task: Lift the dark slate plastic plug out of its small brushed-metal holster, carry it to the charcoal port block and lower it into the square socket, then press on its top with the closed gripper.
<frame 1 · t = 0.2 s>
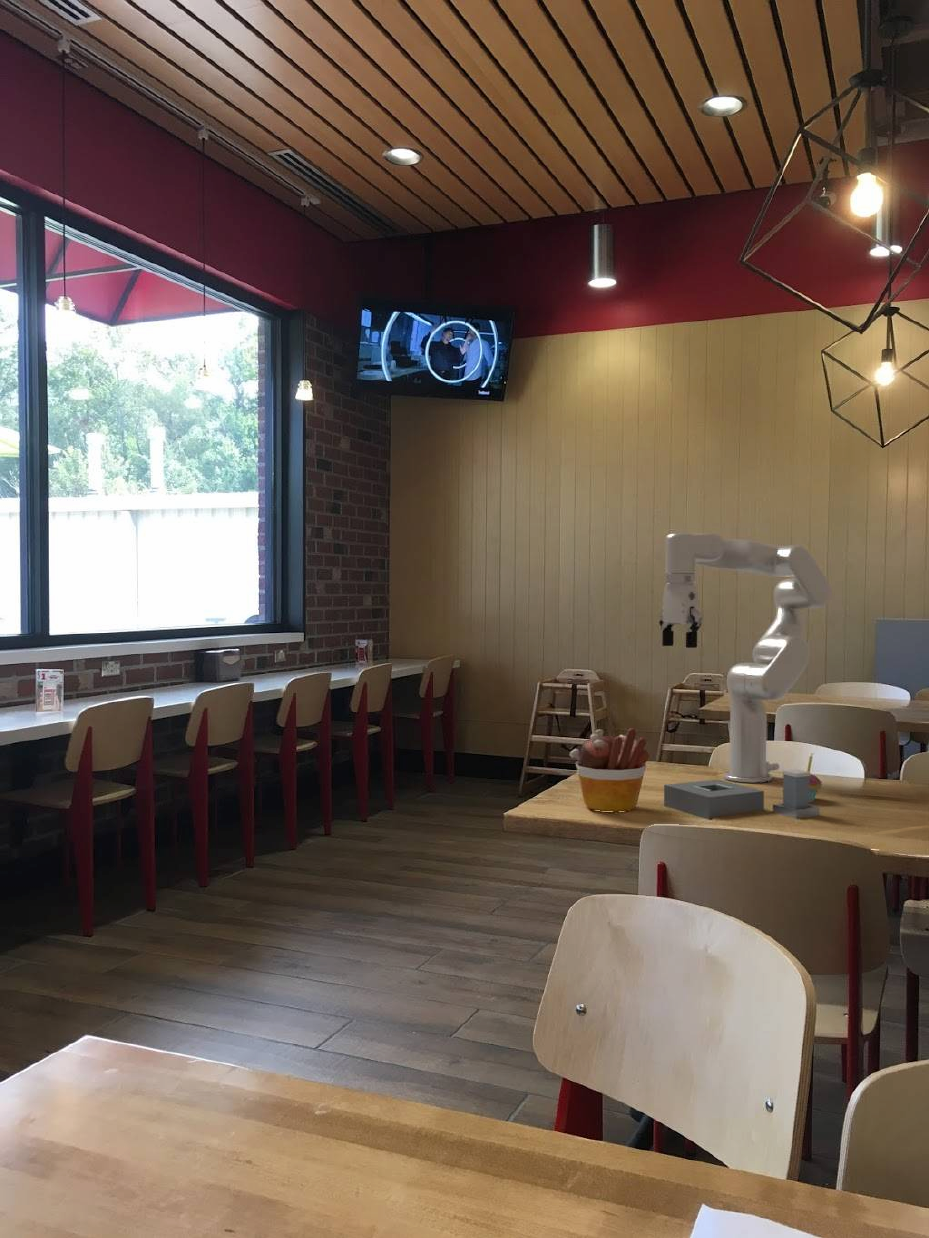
hand: (679, 646, 260), 37 cm above the table, tool pointing down, fingers open, 9 cm apart
plug: (796, 813, 226), point 1 cm above the table, touching holster
cupcake: (802, 802, 242), on the table
holster: (795, 816, 226), on the table
port block: (713, 809, 233), on the table
bucket of meat: (611, 809, 234), on the table
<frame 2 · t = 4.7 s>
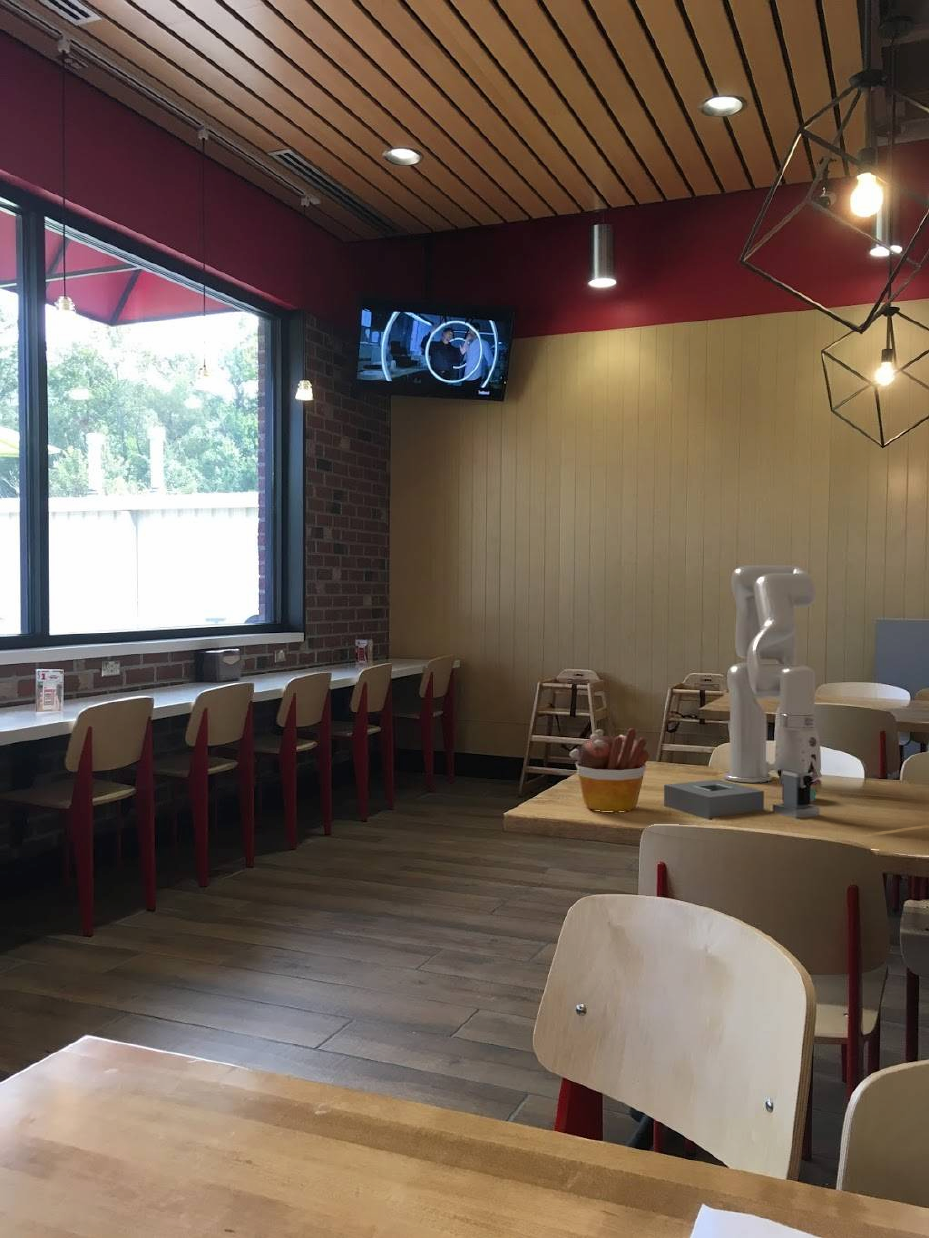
hand: (796, 801, 226), 3 cm above the table, tool pointing down, fingers closed on plug, 4 cm apart
plug: (796, 813, 226), point 1 cm above the table, touching gripper, holster
everything else where it was.
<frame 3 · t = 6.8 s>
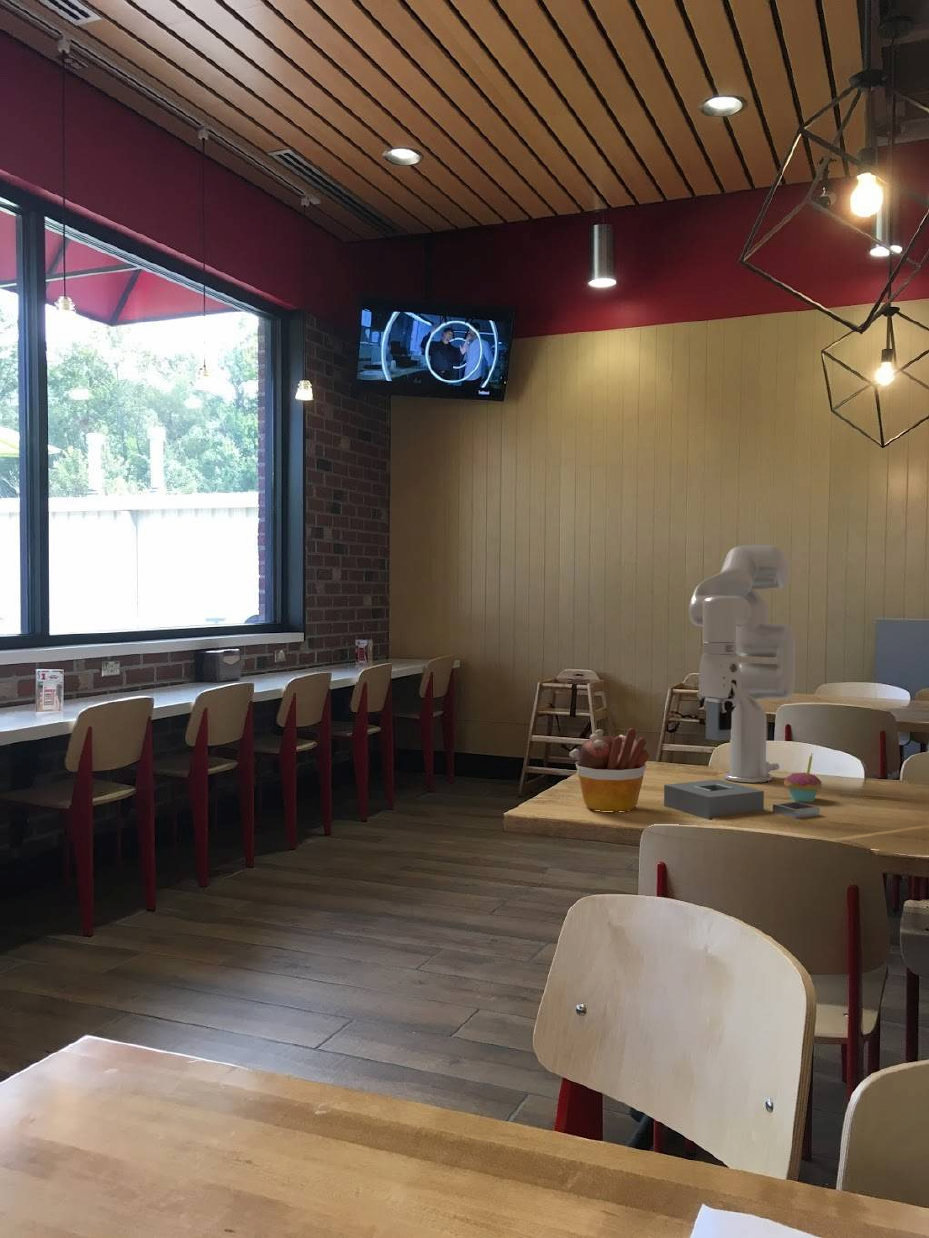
hand: (718, 727, 232), 19 cm above the table, tool pointing down, fingers closed on plug, 4 cm apart
plug: (718, 739, 232), point 17 cm above the table, touching gripper
everything else where it was.
when the fingers open (5 cm above the table, at t = 9.1 s): plug drops 2 cm, resting on port block.
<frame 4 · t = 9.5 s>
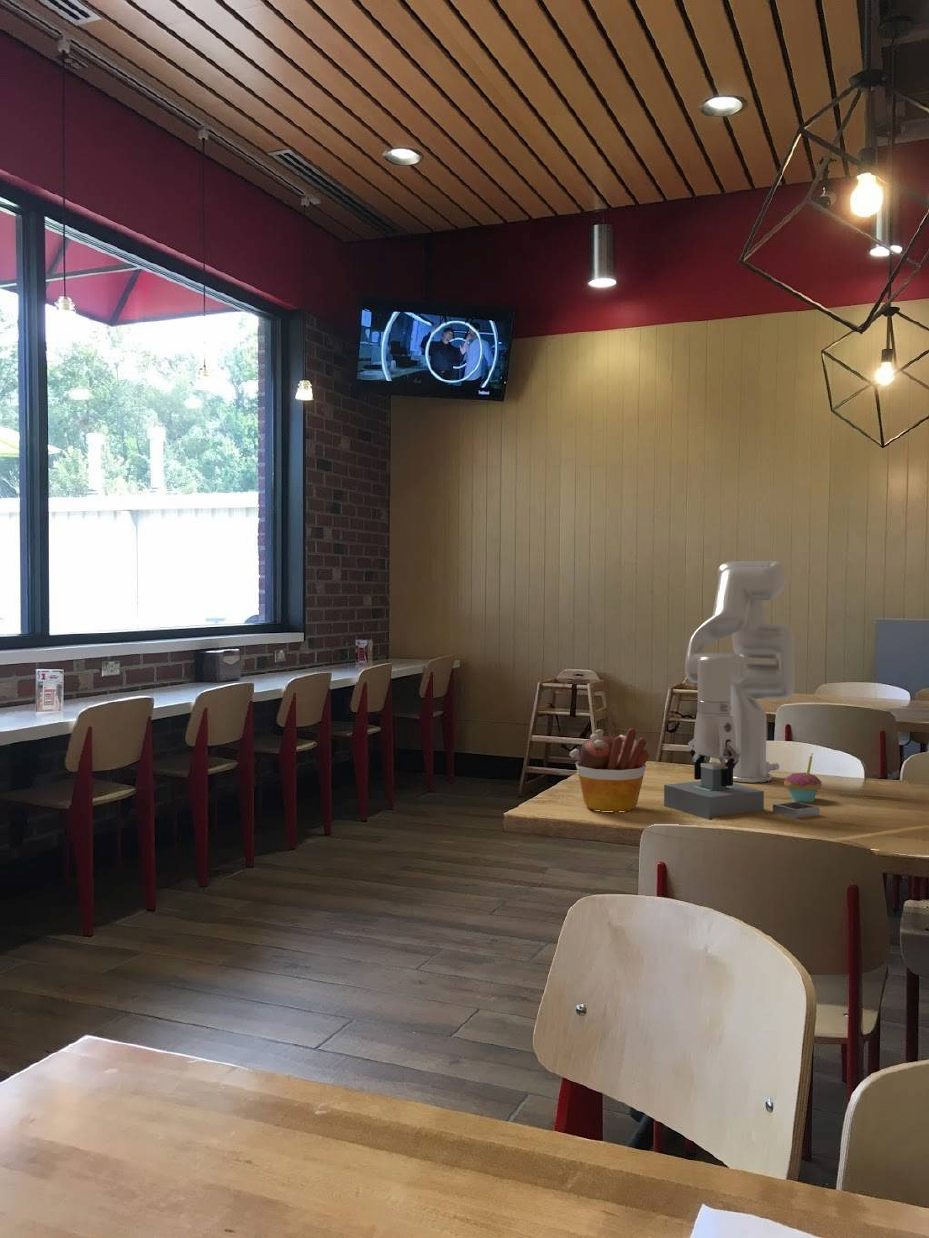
hand: (713, 782, 233), 6 cm above the table, tool pointing down, fingers open, 8 cm apart
plug: (713, 805, 233), point 1 cm above the table, touching port block
everything else where it was.
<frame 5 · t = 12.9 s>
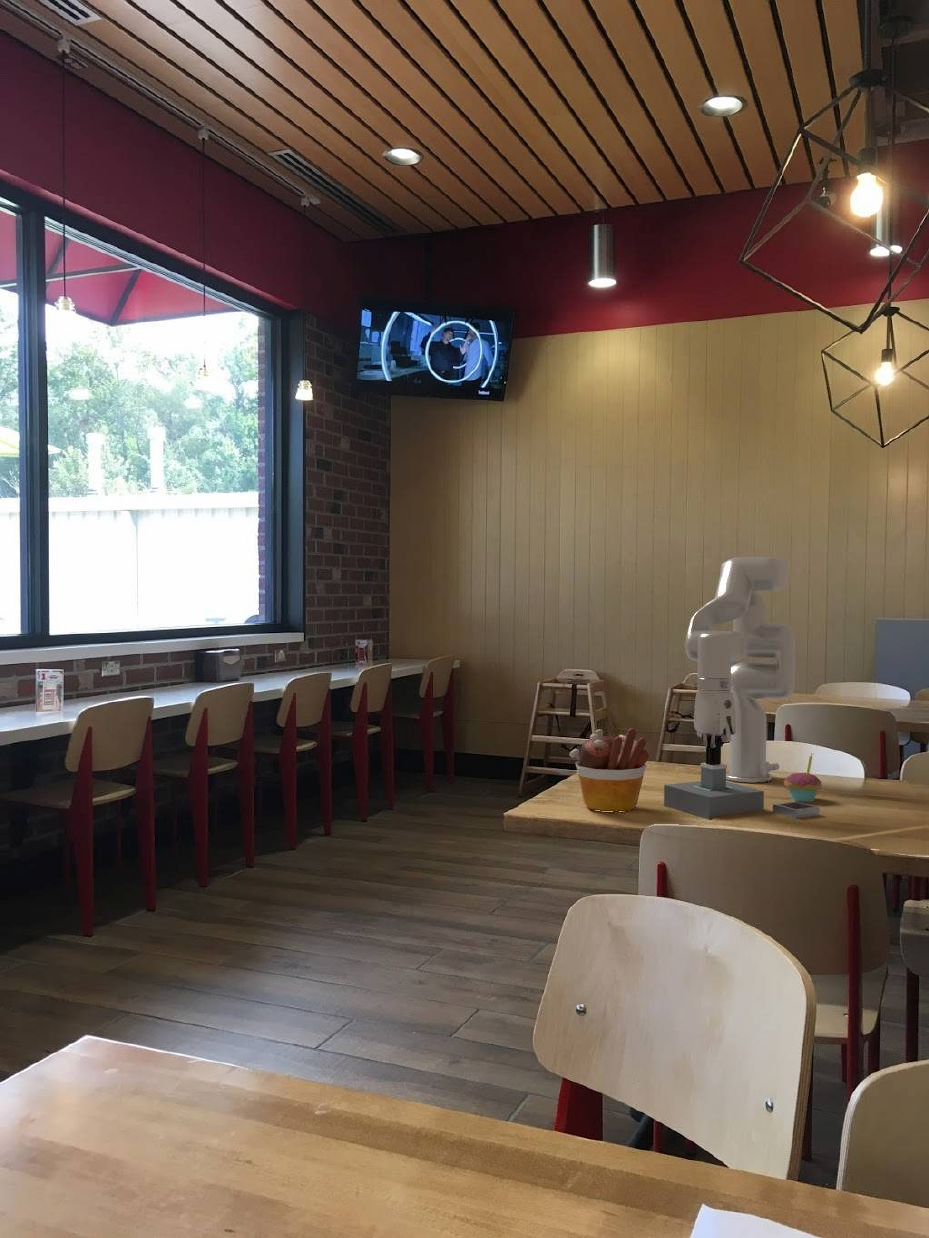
hand: (713, 763, 233), 11 cm above the table, tool pointing down, fingers closed
plug: (713, 804, 233), point 1 cm above the table, touching gripper, port block
everything else where it was.
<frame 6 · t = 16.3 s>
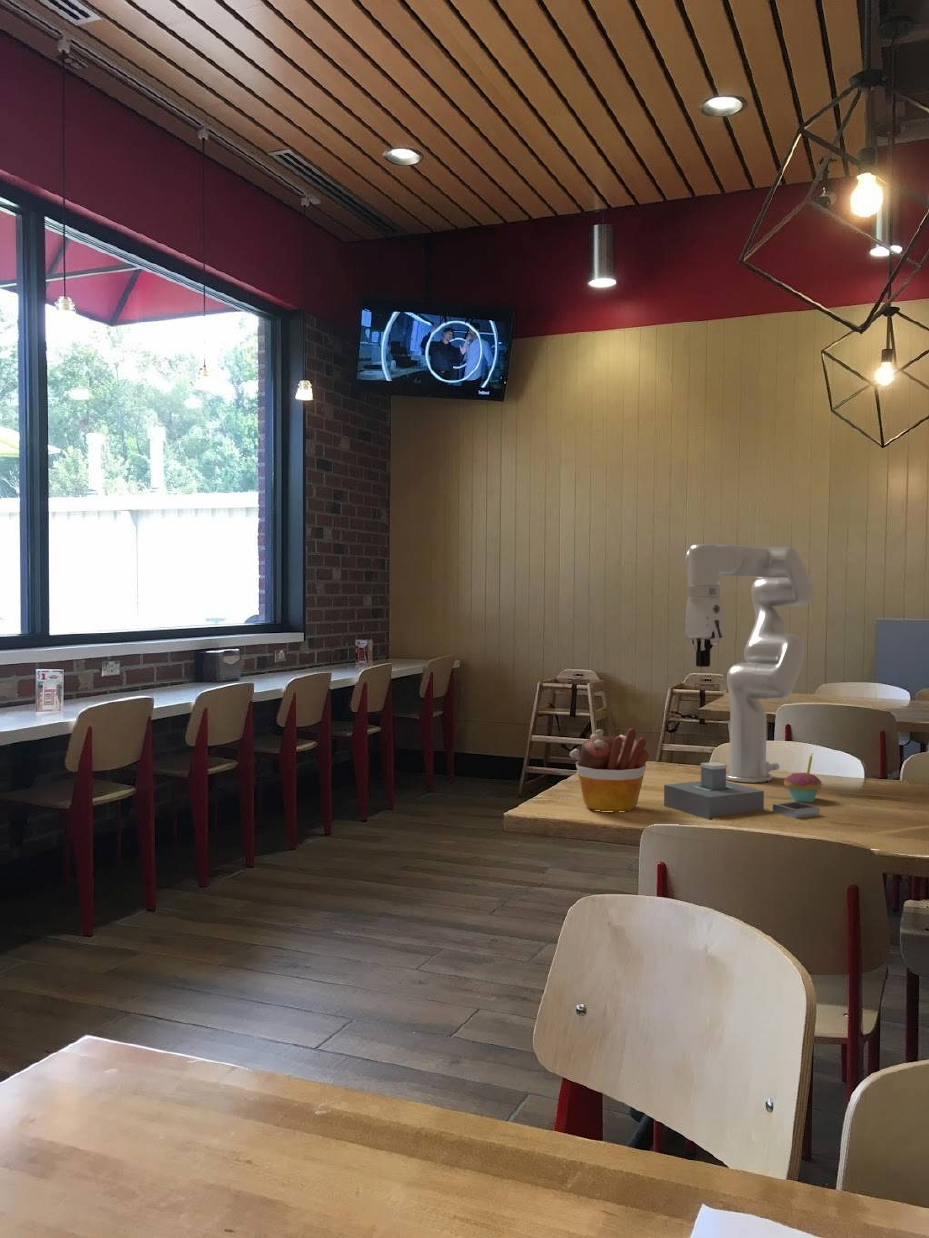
hand: (703, 666, 251), 32 cm above the table, tool pointing down, fingers closed
plug: (713, 805, 233), point 1 cm above the table, touching port block
everything else where it was.
at the end: plug 0.1 cm off-centre on the port block, point 1.0 cm above the port block's base; plug tilted 0°; the gripper is holding nothing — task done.
